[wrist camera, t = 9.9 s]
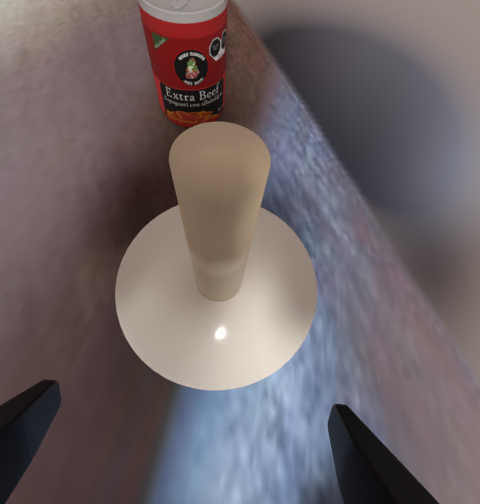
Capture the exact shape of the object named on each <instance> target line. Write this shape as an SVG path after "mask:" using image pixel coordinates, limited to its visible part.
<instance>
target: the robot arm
mask: <svg viewBox="0 0 480 504" xmlns="http://www.w3.org/2000/svg"><path fill="white" fill-rule="evenodd" d="M60 404H61V395H60V388H59V383H58V381H56V380H43V381H41V382H39V383H37V384H35V385H34V386H32V387H30V388H29V389H27V390H25V391H24V392H22V393H20V394H19V395H17V396H15V397H14V398H12V399H10V400H9V401H7V402H5V403H4V404H2V405H0V504H5V503H6V501H7V500H8V498H9V496H10V495H11V493H12V492H13V490H14V489H15V487H16V485H17V484H18V482H19V481H20V479H21V477H22V476H23V474H24V473H25V471H26V469H27V468H28V466H29V464H30V463H31V461H32V459H33V457H34V456H35V454H36V452H37V450H38V448H39V446H40V444H41V442H42V440H43V438H44V436H45V434H46V433H47V431H48V429H49V427H50V425H51V423H52V421H53V419H54V417H55V415H56V413H57V411H58V409H59V407H60ZM328 432H329V437H330V443H331V448H332V453H333V459H334V464H335V469H336V474H337V479H338V484H339V488H340V492H341V495H342V499H343V502H344V504H439V503H438V502H437V500H436V499H435V498H434V497H433V496H432V495H431V494H430V493H429V492H428V491H427V490H426V489H425V488H424V487H423V486H422V485H421V483H420V482H419V481H418V480H417V479H416V478H415V477H414V476H413V475H412V474H411V473H410V472H409V471H408V470H407V469H406V468H405V467H404V465H403V464H402V463H401V462H400V461H399V460H398V459H397V458H396V457H395V456H394V455H393V454H392V453H391V452H390V451H389V450H388V448H387V447H386V446H385V445H384V444H383V443H382V442H381V441H380V440H379V439H378V438H377V437H376V436H375V435H374V434H373V433H372V432H371V430H370V429H369V428H368V427H367V426H366V425H365V424H364V423H363V422H362V421H361V420H360V419H359V418H358V417H357V416H356V415H355V413H354V412H353V411H352V410H351V409H350V408H349V407H348V406H346V405H344V404H334V405H333V406H332V409H331V413H330V416H329V420H328Z"/></svg>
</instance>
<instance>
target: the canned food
mask: <svg viewBox="0 0 480 504" xmlns="http://www.w3.org/2000/svg"><path fill="white" fill-rule="evenodd" d="M138 4H139V8H140V13H141V19H142V24H143V28H144V33H145V37H146V42H147V47H148V51H149V56H150V61H151V65H152V70H153V74H154V79H155V84H156V88H157V93H158V98H159V102H160V106H161V108H162V110H163V112H164V114H165V115H166V116H167V118H168V119H169V120H170V121H172V122H173V123H175V124H177V125H180V126H183V127H189V128H191V127H193V126H196V125H199V124H202V123H207V122H214V121H216V120H217V119H218V118H219V116H220V115H221V113H222V110H223V107H224V104H225V74H226V39H227V0H138Z"/></svg>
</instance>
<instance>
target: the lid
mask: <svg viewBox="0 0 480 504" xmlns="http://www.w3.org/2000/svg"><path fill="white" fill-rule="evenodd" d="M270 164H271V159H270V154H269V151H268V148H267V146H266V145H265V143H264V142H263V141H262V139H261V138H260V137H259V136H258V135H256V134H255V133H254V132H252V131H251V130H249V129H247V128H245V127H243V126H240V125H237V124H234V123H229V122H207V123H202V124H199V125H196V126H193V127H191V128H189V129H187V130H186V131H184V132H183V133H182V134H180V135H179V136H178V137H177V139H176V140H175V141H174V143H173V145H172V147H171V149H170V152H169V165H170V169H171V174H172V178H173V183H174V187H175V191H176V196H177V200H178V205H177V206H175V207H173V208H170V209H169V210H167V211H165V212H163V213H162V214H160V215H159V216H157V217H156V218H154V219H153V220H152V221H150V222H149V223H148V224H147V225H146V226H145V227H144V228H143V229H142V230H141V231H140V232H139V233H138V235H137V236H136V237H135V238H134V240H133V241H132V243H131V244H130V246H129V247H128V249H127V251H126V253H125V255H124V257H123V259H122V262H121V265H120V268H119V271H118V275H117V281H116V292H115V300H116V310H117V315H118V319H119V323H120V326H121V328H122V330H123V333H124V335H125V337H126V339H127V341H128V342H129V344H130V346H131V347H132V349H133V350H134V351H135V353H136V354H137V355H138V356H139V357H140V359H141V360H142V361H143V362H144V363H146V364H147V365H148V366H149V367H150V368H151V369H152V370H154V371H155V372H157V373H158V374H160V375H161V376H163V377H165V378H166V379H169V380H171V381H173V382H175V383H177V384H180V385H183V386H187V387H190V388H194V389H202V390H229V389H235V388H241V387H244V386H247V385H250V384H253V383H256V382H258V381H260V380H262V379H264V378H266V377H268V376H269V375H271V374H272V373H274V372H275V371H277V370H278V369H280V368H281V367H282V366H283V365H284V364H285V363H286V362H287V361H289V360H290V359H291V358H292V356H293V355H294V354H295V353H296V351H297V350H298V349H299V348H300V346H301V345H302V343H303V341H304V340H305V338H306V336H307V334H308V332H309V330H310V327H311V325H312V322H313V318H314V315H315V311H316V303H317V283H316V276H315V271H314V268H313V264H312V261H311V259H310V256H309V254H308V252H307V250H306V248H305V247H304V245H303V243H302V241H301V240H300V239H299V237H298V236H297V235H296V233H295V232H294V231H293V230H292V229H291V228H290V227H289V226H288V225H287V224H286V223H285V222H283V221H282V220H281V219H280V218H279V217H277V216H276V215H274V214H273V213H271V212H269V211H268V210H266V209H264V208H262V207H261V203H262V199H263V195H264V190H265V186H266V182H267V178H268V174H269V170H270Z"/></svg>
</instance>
